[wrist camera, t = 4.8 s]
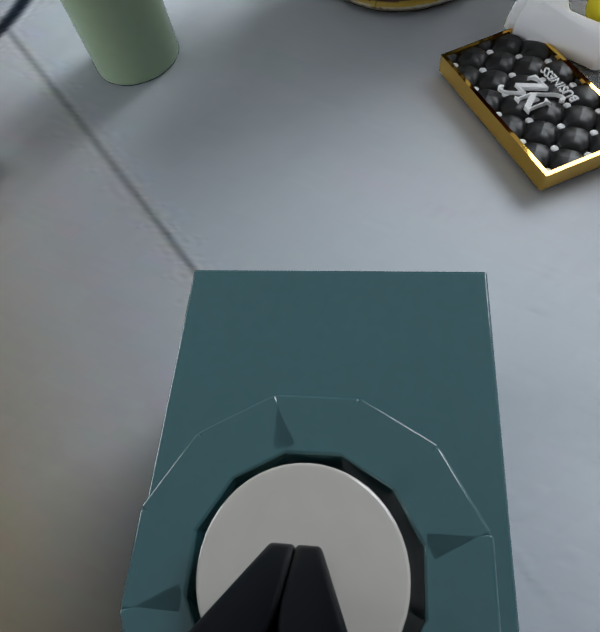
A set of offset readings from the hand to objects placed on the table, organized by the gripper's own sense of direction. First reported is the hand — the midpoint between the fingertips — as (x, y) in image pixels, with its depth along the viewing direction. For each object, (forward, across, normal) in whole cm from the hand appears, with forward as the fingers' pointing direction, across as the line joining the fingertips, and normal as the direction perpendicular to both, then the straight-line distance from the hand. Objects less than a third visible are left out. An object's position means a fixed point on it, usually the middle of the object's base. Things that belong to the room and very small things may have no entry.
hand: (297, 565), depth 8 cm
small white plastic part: (+23, -10, -10) cm, 27 cm away
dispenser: (+9, 0, +5) cm, 10 cm away
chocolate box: (+22, -8, -8) cm, 25 cm away
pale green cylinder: (+26, +13, -12) cm, 31 cm away
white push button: (+2, 0, +2) cm, 2 cm away
